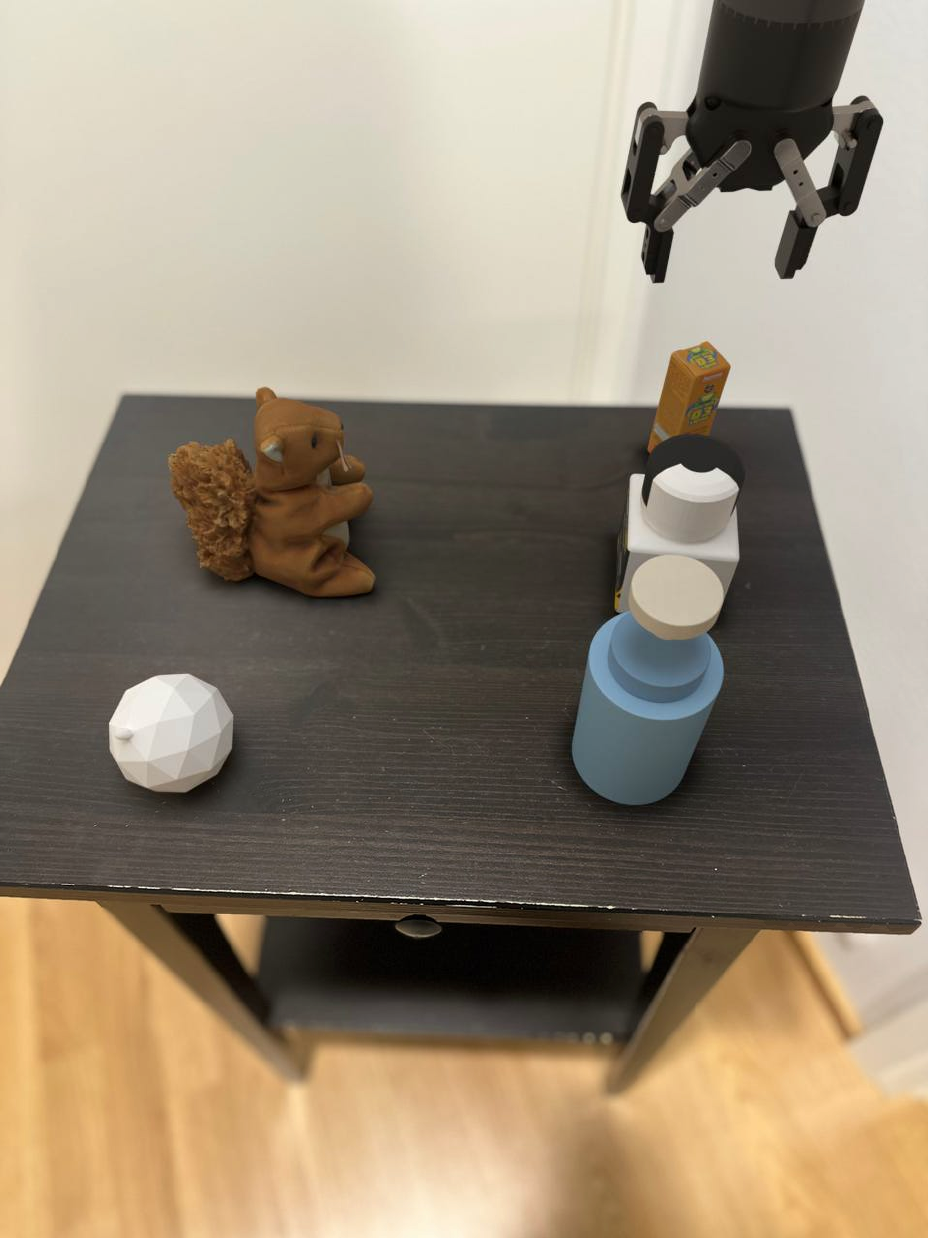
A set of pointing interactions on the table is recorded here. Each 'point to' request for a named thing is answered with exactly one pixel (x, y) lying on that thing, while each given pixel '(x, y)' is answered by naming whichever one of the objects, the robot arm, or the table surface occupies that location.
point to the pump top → (675, 597)
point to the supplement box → (690, 393)
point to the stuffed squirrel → (278, 501)
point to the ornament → (171, 733)
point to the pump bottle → (642, 710)
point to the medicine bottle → (682, 510)
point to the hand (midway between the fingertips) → (719, 274)
